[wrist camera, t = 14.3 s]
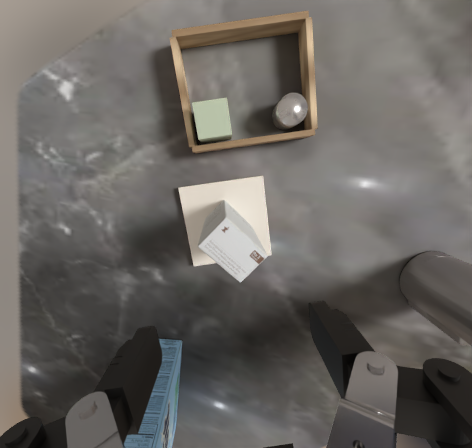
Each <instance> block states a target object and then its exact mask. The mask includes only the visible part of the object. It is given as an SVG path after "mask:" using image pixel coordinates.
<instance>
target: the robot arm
mask: <svg viewBox="0 0 472 448" xmlns="http://www.w3.org/2000/svg"><path fill="white" fill-rule="evenodd" d="M400 288H401V291H402V293H403V294H404V296H405V297H406V298H407V299H408V305H409V306H411V307H412V308H413V309H415V310H416V311H417V312H419V313H420V314H421V315H422V316H424V317H425V318H426V319H428V320H429V321H430V322H431V323H433V324H434V325H435V326H437V327H438V328H439V329H441V330H442V331H443V332H444V333H446V334H447V335H448V336H450V337H451V338H452V339H454V340H455V341H456V342H457V343H459V344H461V345H471V346H472V265H471V264H469V263H467V262H464V261H462V260H459V259H457V258H454V257H453V256H450V255H447V254H444V253H442V252H437V251H429V252H425V253H422V254H420V255H417V256H416V257H414V258H413V259H412V260H410V261H409V262H408V263H407V265H406V266H405V267H404V269H403V271H402V273H401V277H400ZM309 317H310V328H311V334H312V338H313V340H314V343H315V345H316V347H317V349H318V351H319V353H320V355H321V357H322V359H323V361H324V363H325V365H326V367H327V369H328V371H329V373H330V375H331V378H332V380H333V382H334V384H335V386H336V388H337V390H338V392H339V394H340V396H341V399H340V401H339V404H338V407H337V411H336V414H335V418H334V421H333V425H332V429H331V432H330V436H329V439H328V443H327V446H326V448H396V443H397V433H400V434H405V435H411V436H415V437H420V438H425V439H426V440H427V441H428V443H429V444H430V446H431V447H432V448H472V374H471V373H470V372H469V371H468V370H466V369H465V368H464V367H462V366H460V365H458V364H456V363H454V362H451V361H449V360H445V359H439V358H432V359H428V360H426V361H425V362H424V364H423V369H415V368H407V367H400V366H397V365H395V363H394V362H393V361H392V360H391V359H389V358H388V357H386V356H385V355H383V354H380V353H377V352H375V351H374V350H373V348H372V347H371V346H370V345H369V343H368V342H367V341H366V340H365V338H364V337H363V336H362V334H361V333H360V332H359V331H358V330H357V329H356V327H355V326H354V324H353V323H352V322H351V321H350V319H349V318H348V317H347V316H346V315H345V314H344V313H342V312H341V311H339V310H337V309H334V310H330V308H329V307H328V305H327V304H326V303H325V301H317V302H311V303H309ZM161 364H162V349H161V345H160V342H159V338H158V334H157V330H156V328H155V326H149V327H142V328H138V330H137V331H136V333H135V335H134V337H133V339H132V340H128V341H127V342H126V343H125V344H124V345H123V346H122V347H121V348H120V349H119V350H118V352H117V354H116V355H115V358H114V359H113V360H112V362H111V364H110V366H109V367H108V369H107V370H106V372H105V374H104V375H103V377H102V379H101V380H100V382H99V384H98V385H97V387H96V389H95V391H94V392H93V393H91V394H89V395H87V396H85V397H83V398H82V399H80V400H79V401H78V402H77V403H76V404H75V405H74V406H73V407H72V408H71V409H70V411H69V412H68V414H67V416H66V417H64V418H61V419H59V420H57V421H54V422H52V423H50V424H47V425H45V426H43V424H42V422H41V419H40V418H38V417H31V418H28V419H25V420H23V421H21V422H19V423H17V424H16V425H14V426H13V427H11V428H10V429H9V430H7V431H6V432H5V433H4V434H3V435H2V436H1V437H0V448H125V446H124V442H125V440H126V437H127V435H132V434H138V432H139V429H140V426H141V423H142V420H143V417H144V414H145V411H146V408H147V405H148V402H149V399H150V397H151V394H152V391H153V388H154V385H155V382H156V379H157V376H158V373H159V370H160V367H161ZM265 448H293V443H292V444H285V445H279V446H272V447H265Z"/></svg>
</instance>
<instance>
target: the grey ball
mask: <svg viewBox="0 0 472 448" xmlns="http://www.w3.org/2000/svg"><path fill="white" fill-rule="evenodd" d="M307 111H308V105H307V102H306V100H305V98H304V97H303V96H302V95H300V94H298V93H289V94H287V95H285V96H284V97H283V98H282V99H281V100H280V101H279V103H278V104H277V105H276V106H275V108H274V109H273V112H272V120H273V123H274V125H275V126H276V127H277V128H279V129H282V130H287V129H290V128H292V127H294V126H295V125H297V124H299V123H300V122H302V121H303V120H304V118H305V117H306V114H307Z"/></svg>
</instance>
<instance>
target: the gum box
mask: <svg viewBox="0 0 472 448" xmlns="http://www.w3.org/2000/svg"><path fill="white" fill-rule="evenodd" d="M159 342H160V345H161V349H162V364H161V367H160V370H159V373H158V376H157V379H156V382H155V385H154V388H153V391H152V394H151V397H150V399H149V402H148V405H147V408H146V411H145V414H144V417H143V420H142V423H141V426H140V429H139V432H138V434H132V435H127V437H126V440H125V442H124V446H125V448H172V444H173V438H174V433H175V428H176V420H177V406H178V393H179V380H180V367H181V353H182V340H172V339H159Z"/></svg>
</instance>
